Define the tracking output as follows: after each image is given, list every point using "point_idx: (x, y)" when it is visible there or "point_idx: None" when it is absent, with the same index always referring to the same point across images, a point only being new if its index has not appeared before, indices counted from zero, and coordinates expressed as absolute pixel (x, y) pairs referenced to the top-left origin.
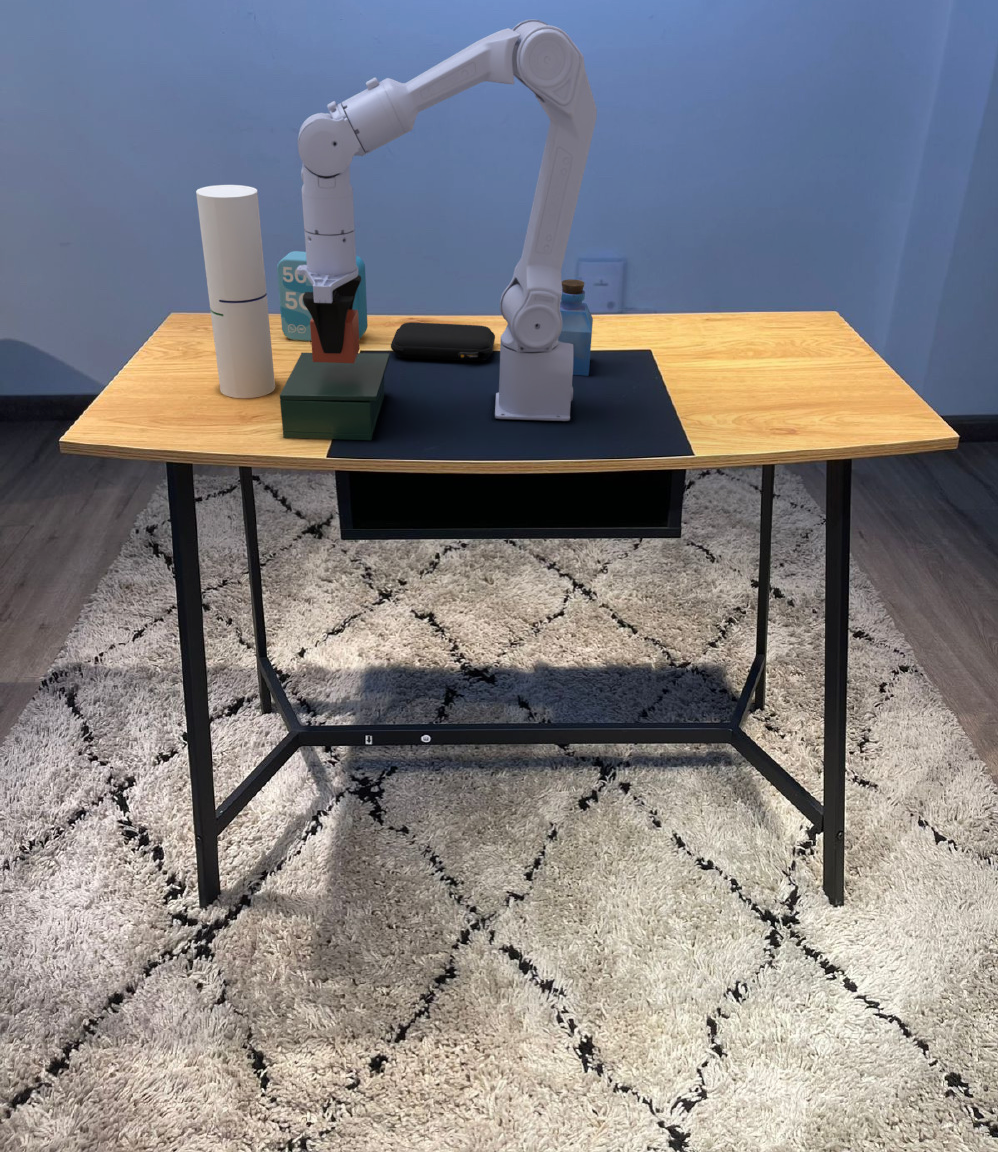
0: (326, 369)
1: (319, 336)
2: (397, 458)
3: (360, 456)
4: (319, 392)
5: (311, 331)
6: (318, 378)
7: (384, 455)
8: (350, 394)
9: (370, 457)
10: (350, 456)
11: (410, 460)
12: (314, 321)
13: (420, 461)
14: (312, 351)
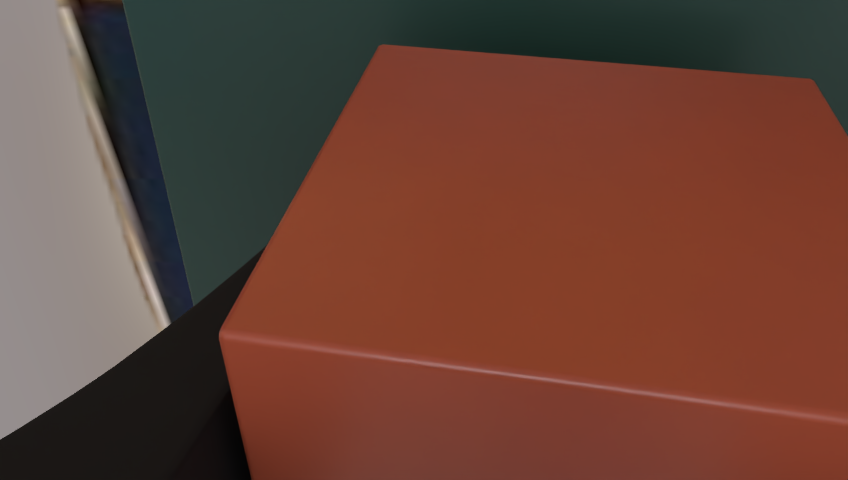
0: (664, 61)
1: (200, 301)
2: (154, 254)
3: (127, 134)
4: (185, 45)
5: (279, 235)
6: (458, 13)
7: (164, 215)
8: (194, 228)
9: (131, 170)
10: (114, 96)
11: (152, 289)
12: (2, 439)
13: (155, 314)
14: (353, 94)
